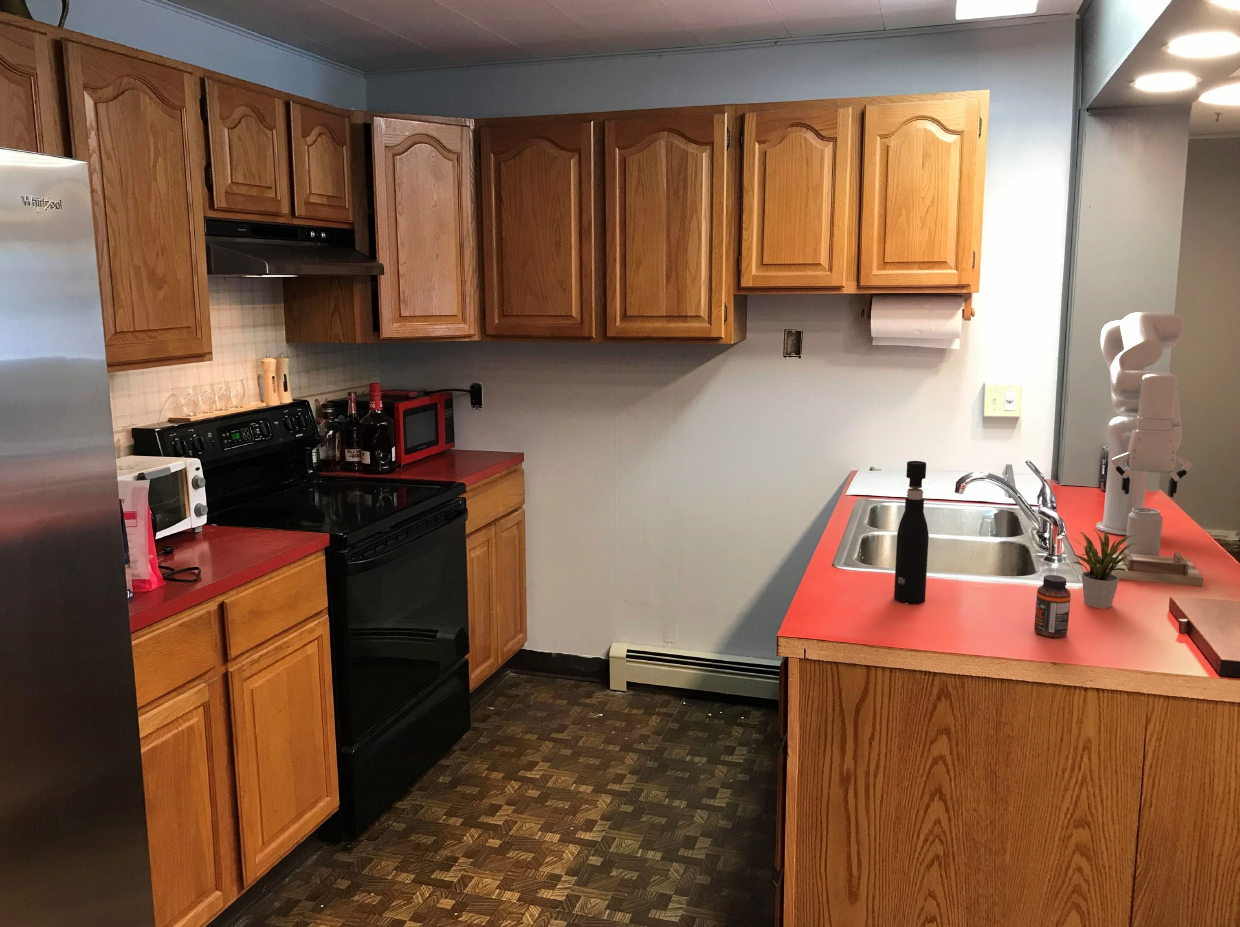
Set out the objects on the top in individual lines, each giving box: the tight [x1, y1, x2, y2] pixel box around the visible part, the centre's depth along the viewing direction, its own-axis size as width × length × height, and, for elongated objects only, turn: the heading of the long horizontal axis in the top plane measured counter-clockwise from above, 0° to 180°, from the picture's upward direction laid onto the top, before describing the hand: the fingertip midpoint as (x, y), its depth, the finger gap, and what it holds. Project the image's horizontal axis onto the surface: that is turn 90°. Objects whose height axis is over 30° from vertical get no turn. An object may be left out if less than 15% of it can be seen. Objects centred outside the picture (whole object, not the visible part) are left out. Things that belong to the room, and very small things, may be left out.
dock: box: [1108, 547, 1204, 587], centre depth 226 cm, size 16×18×4 cm
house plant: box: [1070, 527, 1142, 609], centre depth 203 cm, size 14×14×16 cm
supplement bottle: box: [1033, 574, 1071, 639], centre depth 187 cm, size 6×6×11 cm
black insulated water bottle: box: [893, 460, 930, 605], centre depth 205 cm, size 6×6×30 cm
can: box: [1124, 507, 1164, 556], centre depth 239 cm, size 8×8×12 cm
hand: (1148, 494), depth 236 cm, fingers open, 9 cm apart
